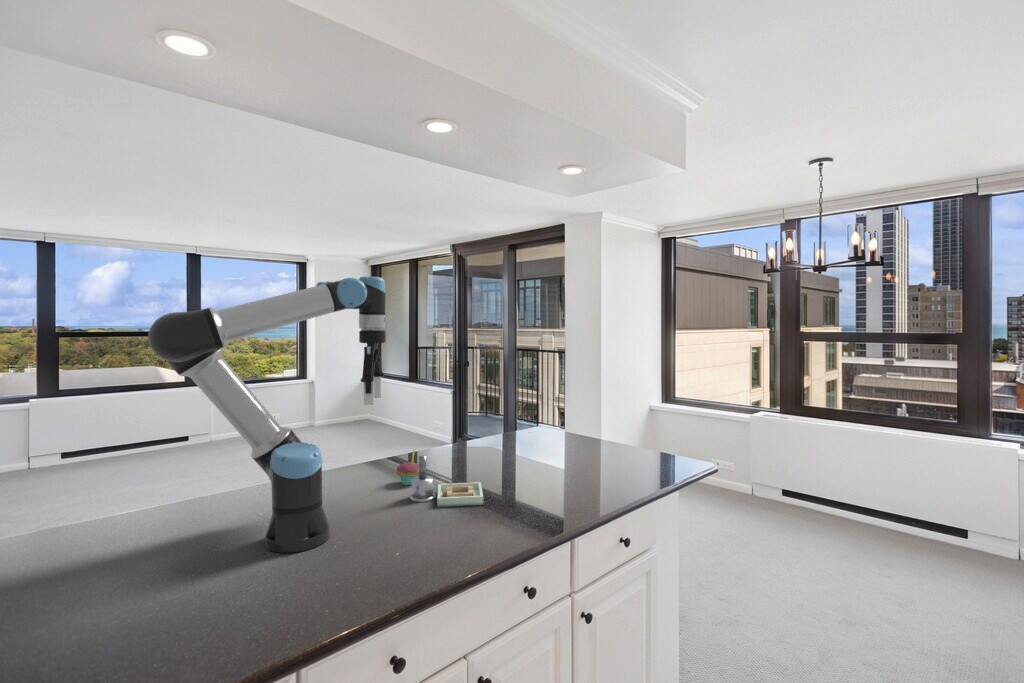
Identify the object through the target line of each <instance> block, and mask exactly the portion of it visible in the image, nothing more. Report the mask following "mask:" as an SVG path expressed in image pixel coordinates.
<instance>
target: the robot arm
mask: <svg viewBox="0 0 1024 683" xmlns="http://www.w3.org/2000/svg"><path fill="white" fill-rule="evenodd" d="M386 294H387V292H386V281H385V280H384V278H382V277H379V276H360V277H359V278H355V277H346V278H343V279H341V280H335V281H319V282H317V283H316V284H315V286H311V287H308V288H305V289H304V288H303V289H299V290H295V291H291V292H287V293H283V294H278V295H274V296H272V297H267V298H263V299H258V300H253V301H250V302H247V303H243V304H238V305H234V306H230V307H225V308H221V309H218V310H217V309H214V308H212V307H207V308H203V309H198V310H197V309H196V310H190V311H181V312H179V311H176V312H169V313H166V314H163V315H162V316H160V317H158V318H157V319H156V320H155V321H154V322H153V323H151V324H152V325H151V326H150V328H149V330H148V335H147V336H148V337H147V338H148V339H147V340H148V344H149V346H150V349H152V351H153V352H154V353H155V355H157V356H158V357H159V358H161V359H163V360H165V361H166V362H167V363H168V364H169V365H168V366H170V367H171V368H172V369H173V371H175V372H176V374H177V375H178V376H179V377H180V376H181V377H188V378H190V379H191V380H192V381H193V382H194V384H195V385H196V386H197V387H198V388H199V389H200V390H201V392H202V393H203V394H204V395H205V396H206V397H207V398H208V399H209V401H210V402H211V403H212V405H214V406H215V407H216V408H217V410H218V411H219V412H220V413H221V414H222V415H223V417H224V418H225V419H226V420H227V421H228V422H229V423H230V425H232V427H233V428H234V429H235V430H236V432H238V434H240V436H241V437H242V438H243V439H244V440H245V441H246V443H247V444H248V445H249V446H250V448H251V454H250V456H251V458H252V459H253V460H254V462H256V464H257V465H258V466H259V468H261V470H262V471H264V473H265V474H266V475H267V477H268V479H269V480H270V483H271V484H270V485H271V505H272V506H271V507H272V508H271V510H272V512H271V517H270V520H269V522H268V523H269V524H268V526H267V530H266V533H265V536H264V546H265V548H266V550H268V551H271V552H273V553H274V552H275V553H283V554H284V553H285V554H288V553H297V552H299V553H300V552H303V551H307V550H311V549H314V548H316V547H318V546H321V545H323V544H324V543H326V542H327V541H328V540H329V539H330V537H331V525H330V523H329V520H328V517H327V515H326V512H325V509H324V507H323V475H322V474H323V472H322V468H323V467H322V465H323V457H322V451H321V449H320V447H319V446H317V445H316V444H313V443H308V442H302V441H301V439H300V438H299V437H298V436H297V434H296V433H295V432H294V431H293V430H292V428H290V427H286V426H281V425H280V423H278V421H277V420H276V419H275V418H274V417H273V415H272V414H271V413H270V411H268V409H267V408H266V407H265V406H264V405H263V404H262V402H261V401H260V400H259V399H258V398H257V396H256V395H255V394H254V393H253V392H252V390H251V389H250V388H249V387H248V386H247V384H246V383H245V382H244V381H243V379H241V377H240V376H239V375H238V374H237V373H236V371H235V370H234V369H233V368H232V367H231V365H230V364H229V363H228V362H227V361H226V360H225V358H224V357H223V350H224V348H225V347H226V346H227V344H228V343H229V342H230V341H234V340H238V339H242V338H245V337H249V336H253V335H257V334H259V333H263V332H268V331H271V330H274V329H279V328H281V327H282V328H283V327H285V326H286V327H287V326H289V325H292V324H296V323H299V322H303V321H307V320H310V319H314V318H318V317H321V316H325V315H328V314H331V313H336V312H341V311H344V310H358V328H359V329H360V330H359V331H358V332H359V333H358V334H359V337H358V338H359V339H358V340H359V341H358V342H359V343H361V344H366V346H364V347H363V351H364V352H363V353H364V356H363V367H362V368H363V369H362V378H360V383H363V406H373V405H375V399H381V398H382V377H384V372H383V370H382V358H381V345H380V344H385V343H386V341H387V339H386V337H387V336H386V334H387V333H386V330H384V329H385V328H386V322H388V318H387V317H386V296H387V295H386Z"/></svg>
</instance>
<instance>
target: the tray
mask: <svg viewBox="0 0 1024 683" xmlns="http://www.w3.org/2000/svg"><path fill="white" fill-rule="evenodd" d="M462 485H473V493H474V496H463V497H442V489H447V486H462ZM436 497H437V498H436V499H437V502H436V503H437V508H440V507H441V508H444V507H463V506H465V507H466V506H482V505H484V494H483V487H482V483H481V481H479V482H477V481H475V482H457V483H455V482H454V483H438V487H437V496H436Z"/></svg>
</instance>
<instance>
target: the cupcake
mask: <svg viewBox="0 0 1024 683" xmlns="http://www.w3.org/2000/svg"><path fill="white" fill-rule="evenodd" d="M414 458H415V448H414V449H413V450H412V454H411V461H409V462H403V463H400V464H399V465H398V466H397V467H396V470H395V472H396V475H397V476H398V477H399V478H400V481H401V484H402V485H403V486H412V479H413V478H414V477H417V476H419V463H418V462H414Z"/></svg>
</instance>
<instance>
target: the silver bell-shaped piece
mask: <svg viewBox="0 0 1024 683" xmlns="http://www.w3.org/2000/svg"><path fill="white" fill-rule="evenodd" d="M418 464H419V476H417V477H414V478H413V479H412V485H411V486H412V493H411V494H410V495H409V500H410V501H411V502H414V503H428V502H431V501H434V500H436V499H437V498H436V497H437V493H435V492H434V476H432V475H428V474H427V467H428V466H427V455H425V454H424V455H423V454H422V455H418Z"/></svg>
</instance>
